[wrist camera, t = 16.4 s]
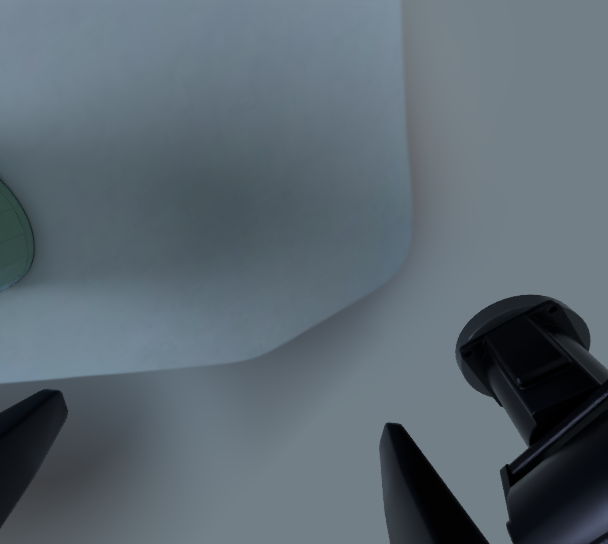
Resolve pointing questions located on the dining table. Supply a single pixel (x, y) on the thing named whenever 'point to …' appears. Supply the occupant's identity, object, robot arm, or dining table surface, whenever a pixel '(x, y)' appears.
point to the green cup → (13, 240)
